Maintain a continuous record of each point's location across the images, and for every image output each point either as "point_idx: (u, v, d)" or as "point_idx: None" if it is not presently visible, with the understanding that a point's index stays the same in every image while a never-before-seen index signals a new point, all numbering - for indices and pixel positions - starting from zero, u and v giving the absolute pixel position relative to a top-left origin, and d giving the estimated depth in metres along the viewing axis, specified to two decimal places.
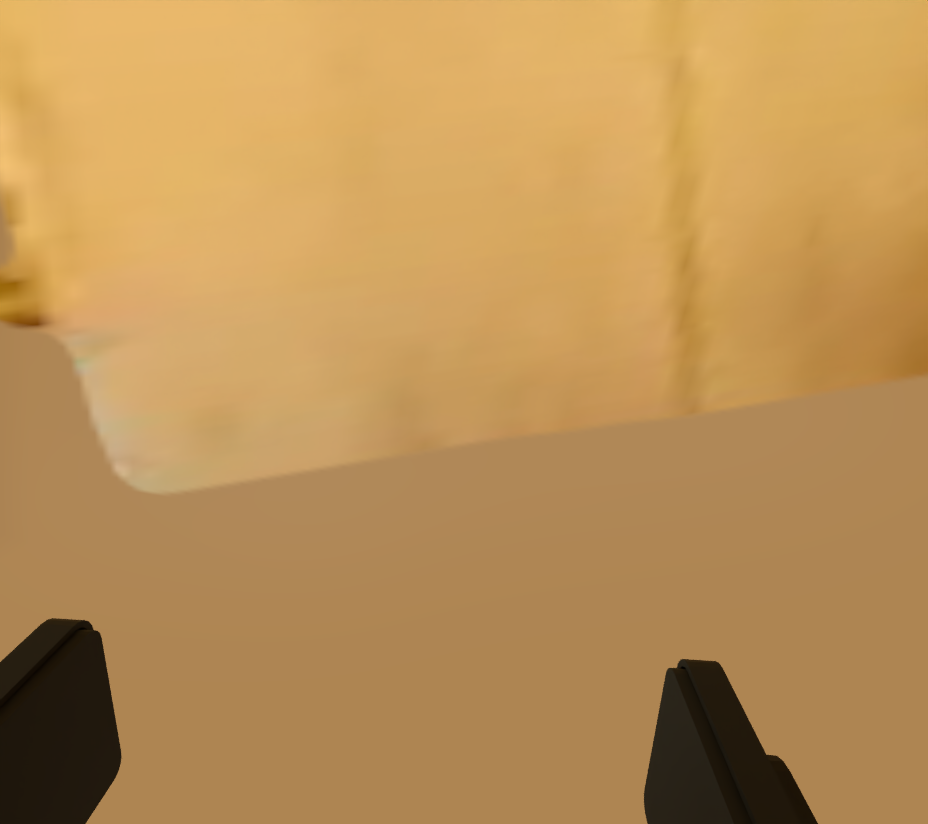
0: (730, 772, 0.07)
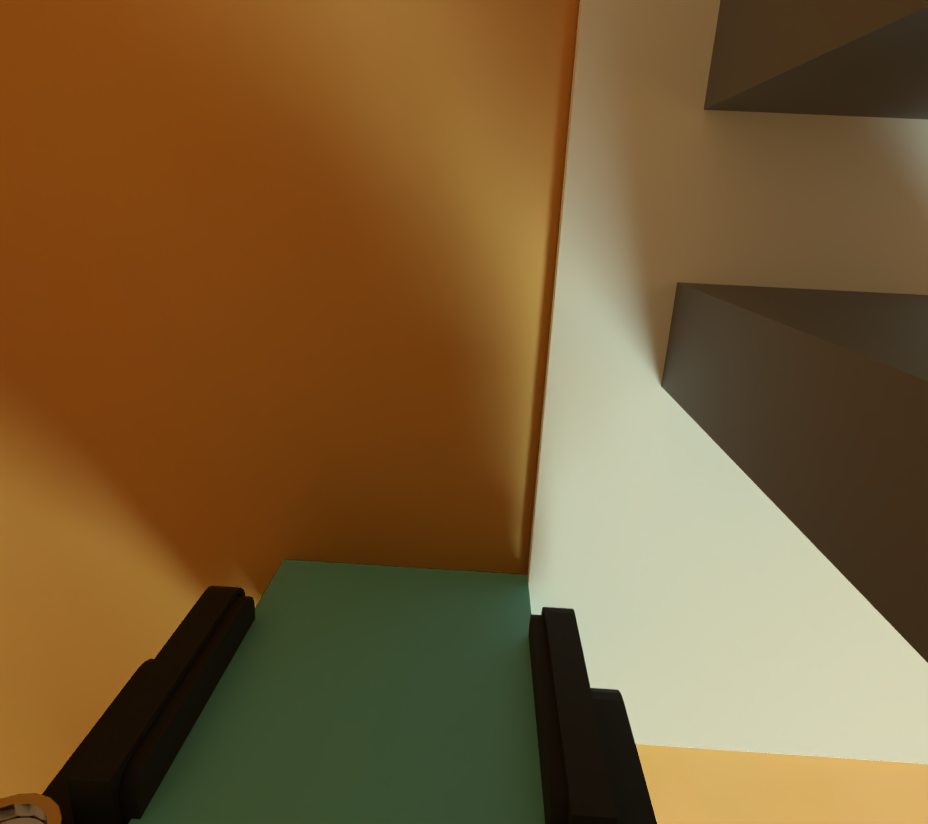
0: (553, 693, 0.09)
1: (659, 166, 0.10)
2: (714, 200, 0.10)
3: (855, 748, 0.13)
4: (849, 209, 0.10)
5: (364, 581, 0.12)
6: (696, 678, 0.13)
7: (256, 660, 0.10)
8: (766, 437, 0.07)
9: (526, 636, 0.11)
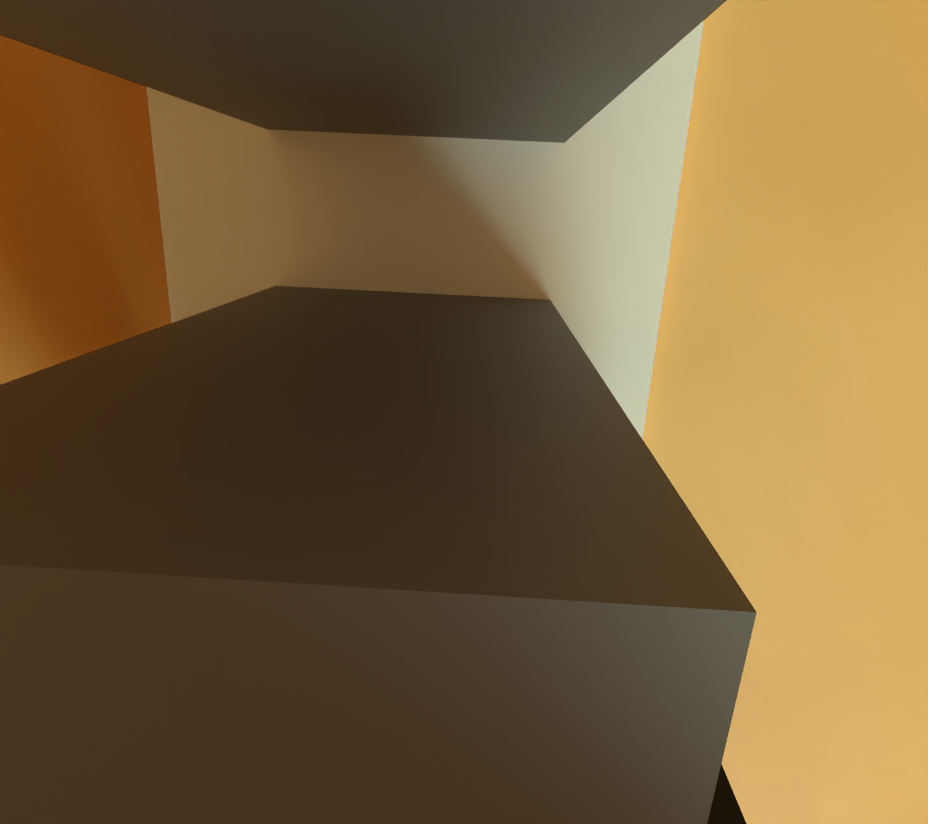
0: None
1: (238, 180, 0.11)
2: (293, 211, 0.11)
3: None
4: (415, 219, 0.11)
5: None
6: None
7: None
8: None
9: None
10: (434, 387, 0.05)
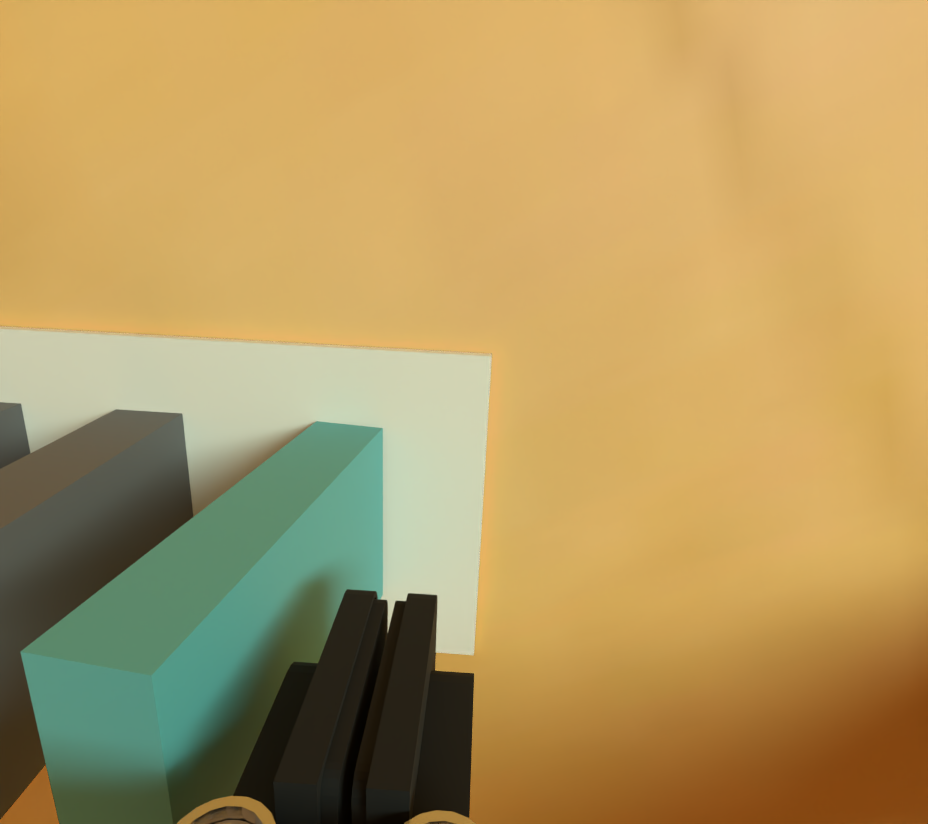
0: (389, 675, 0.09)
1: None
2: None
3: (476, 421, 0.16)
4: None
5: None
6: (413, 542, 0.17)
7: None
8: None
9: None
10: None
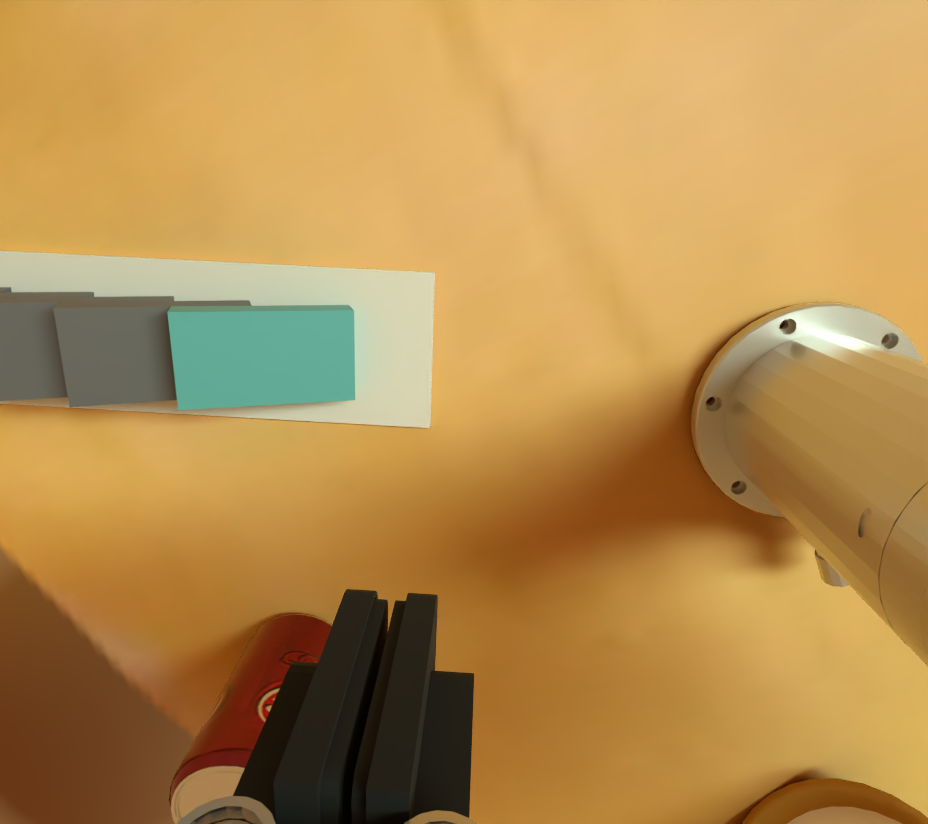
0: (389, 675, 0.09)
1: None
2: None
3: (428, 304, 0.34)
4: None
5: None
6: (399, 366, 0.35)
7: None
8: None
9: None
10: None
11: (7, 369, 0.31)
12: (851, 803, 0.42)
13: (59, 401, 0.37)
